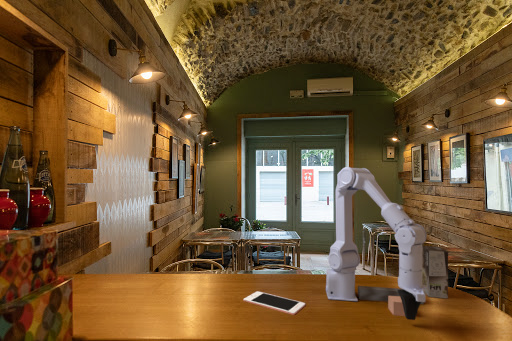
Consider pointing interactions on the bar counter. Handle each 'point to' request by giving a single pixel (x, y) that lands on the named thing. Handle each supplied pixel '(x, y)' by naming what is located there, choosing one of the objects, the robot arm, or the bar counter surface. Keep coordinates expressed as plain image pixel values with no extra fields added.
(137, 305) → the bar counter surface
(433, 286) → the coffee box
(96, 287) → the bar counter surface
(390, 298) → the block
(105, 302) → the bar counter surface
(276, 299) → the cell phone
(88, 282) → the bar counter surface
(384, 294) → the gray rectangular bar
